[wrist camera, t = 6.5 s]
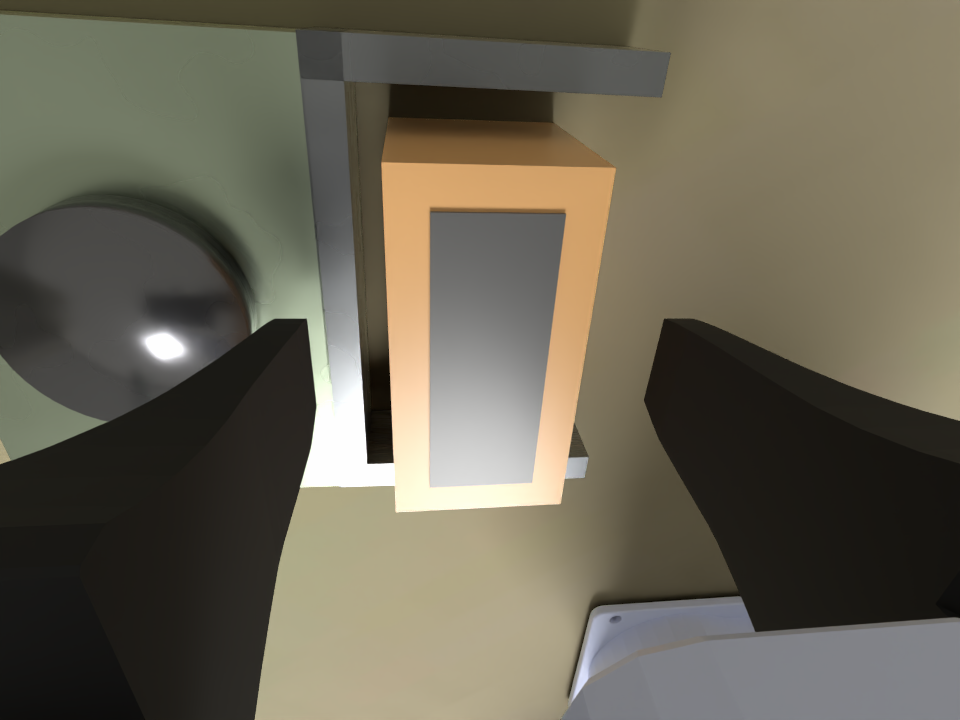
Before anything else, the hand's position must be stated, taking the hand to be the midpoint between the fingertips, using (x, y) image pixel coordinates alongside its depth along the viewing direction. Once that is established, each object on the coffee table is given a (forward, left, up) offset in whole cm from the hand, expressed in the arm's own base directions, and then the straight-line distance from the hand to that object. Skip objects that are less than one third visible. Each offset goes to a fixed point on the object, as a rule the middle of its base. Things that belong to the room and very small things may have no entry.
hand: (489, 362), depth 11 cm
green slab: (+4, 0, -5) cm, 6 cm away
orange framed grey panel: (0, 0, -5) cm, 5 cm away
